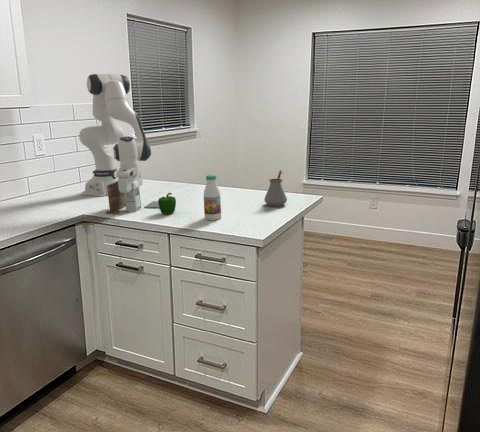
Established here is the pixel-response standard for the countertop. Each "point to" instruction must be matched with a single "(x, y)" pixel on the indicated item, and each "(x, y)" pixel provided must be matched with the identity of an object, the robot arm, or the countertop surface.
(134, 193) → the syrup box
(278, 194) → the coffee pot
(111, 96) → the robot arm
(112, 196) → the brown wooden display stand
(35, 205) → the countertop surface
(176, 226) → the countertop surface
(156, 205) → the coaster
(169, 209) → the bell pepper
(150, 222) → the countertop surface
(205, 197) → the milk bottle
